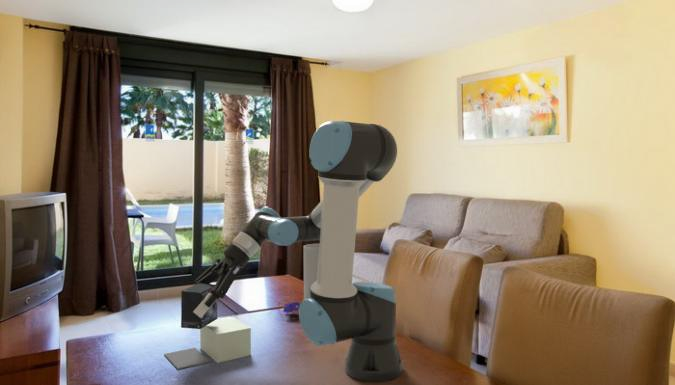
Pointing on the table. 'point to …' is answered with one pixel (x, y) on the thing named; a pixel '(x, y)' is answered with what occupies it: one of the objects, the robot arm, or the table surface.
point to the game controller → (291, 307)
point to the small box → (190, 303)
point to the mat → (186, 358)
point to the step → (226, 339)
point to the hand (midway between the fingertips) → (189, 310)
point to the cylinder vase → (310, 267)
